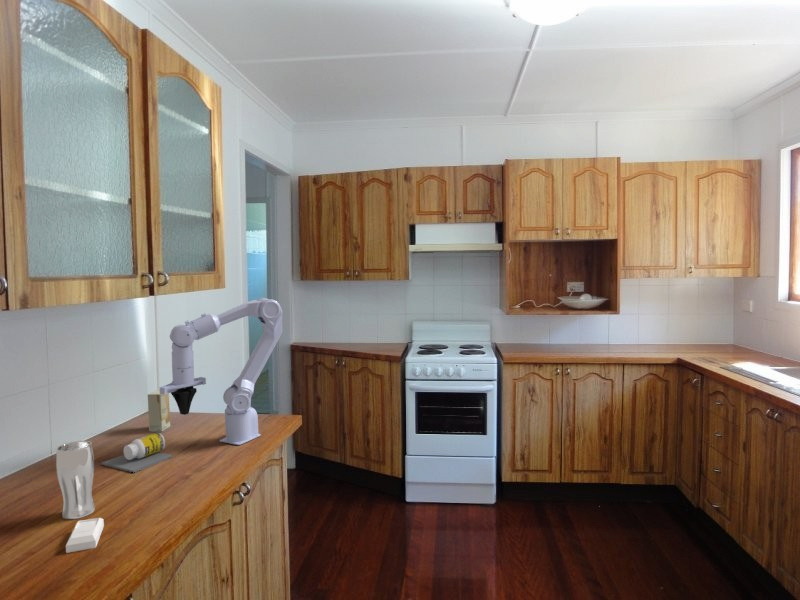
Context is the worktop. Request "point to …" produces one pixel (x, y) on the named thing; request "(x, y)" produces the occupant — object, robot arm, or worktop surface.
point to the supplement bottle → (144, 446)
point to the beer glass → (76, 478)
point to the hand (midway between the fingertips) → (184, 413)
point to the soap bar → (85, 535)
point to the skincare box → (158, 411)
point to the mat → (136, 462)
